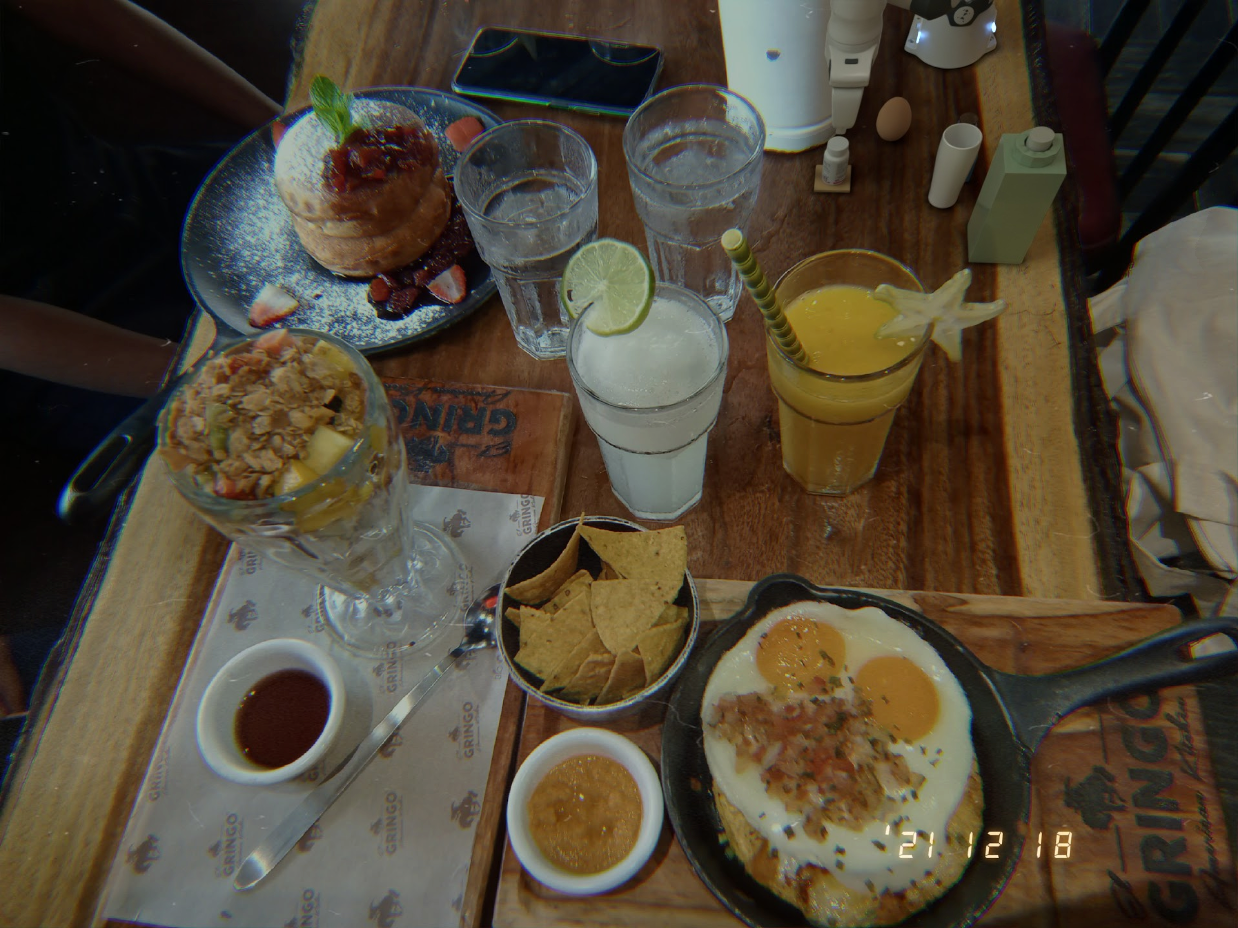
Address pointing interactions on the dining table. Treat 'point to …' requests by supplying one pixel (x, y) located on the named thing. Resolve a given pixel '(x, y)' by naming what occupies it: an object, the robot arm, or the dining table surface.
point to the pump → (1040, 139)
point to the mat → (824, 187)
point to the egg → (894, 119)
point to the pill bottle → (835, 161)
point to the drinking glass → (953, 163)
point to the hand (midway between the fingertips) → (841, 113)
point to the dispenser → (1014, 199)
